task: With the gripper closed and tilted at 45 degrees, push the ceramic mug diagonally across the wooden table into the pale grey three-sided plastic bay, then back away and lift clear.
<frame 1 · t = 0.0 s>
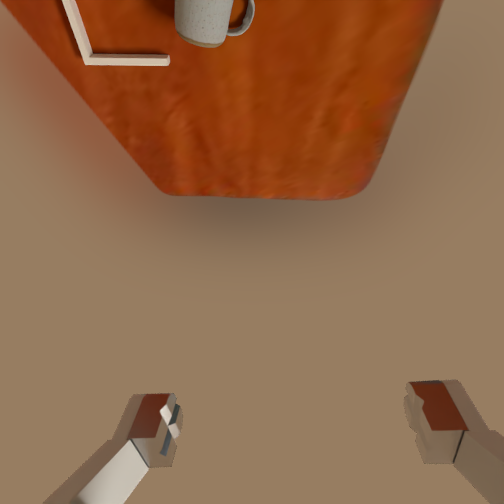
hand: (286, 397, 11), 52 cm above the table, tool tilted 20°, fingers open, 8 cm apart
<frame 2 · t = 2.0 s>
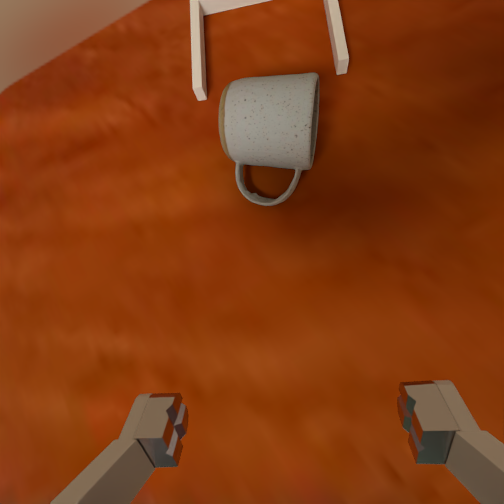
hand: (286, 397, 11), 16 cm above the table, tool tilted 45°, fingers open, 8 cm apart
ceramic mug: (276, 160, 31), on the table
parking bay: (265, 43, 34), on the table
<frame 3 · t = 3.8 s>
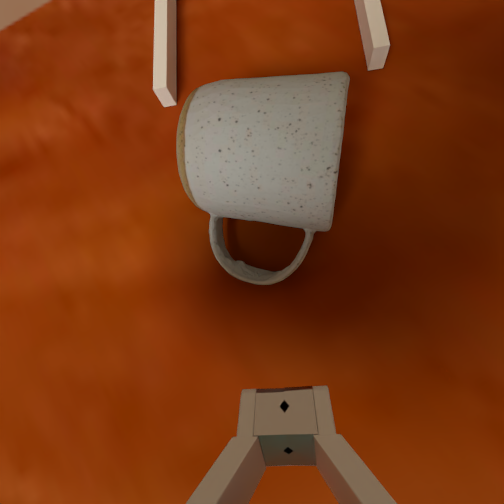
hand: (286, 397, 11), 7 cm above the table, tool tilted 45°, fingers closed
ceramic mug: (275, 205, 20), on the table
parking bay: (262, 24, 24), on the table
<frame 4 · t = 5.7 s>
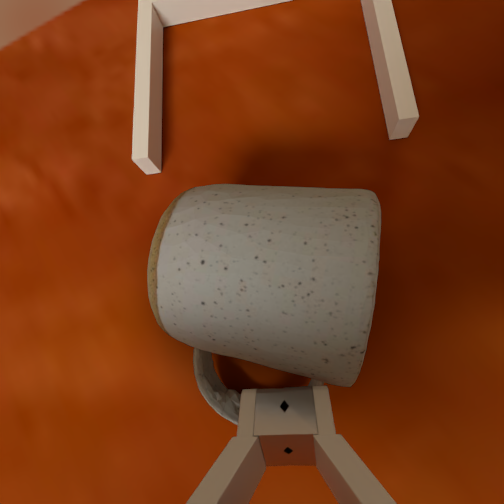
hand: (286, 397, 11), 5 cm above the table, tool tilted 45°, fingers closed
ceramic mug: (276, 311, 17), on the table, touching gripper
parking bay: (262, 76, 20), on the table
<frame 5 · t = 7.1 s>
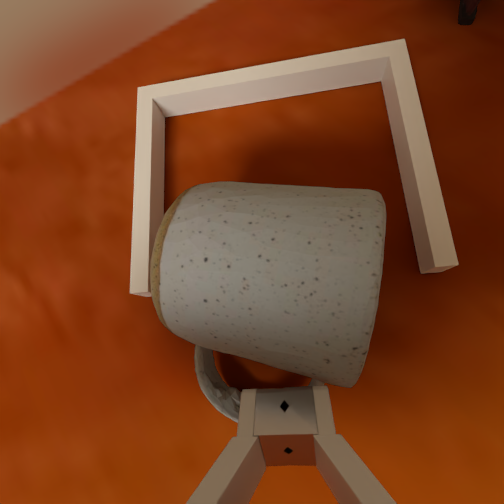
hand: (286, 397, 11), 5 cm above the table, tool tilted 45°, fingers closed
ceramic mug: (278, 310, 17), on the table, touching gripper
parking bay: (275, 184, 18), on the table
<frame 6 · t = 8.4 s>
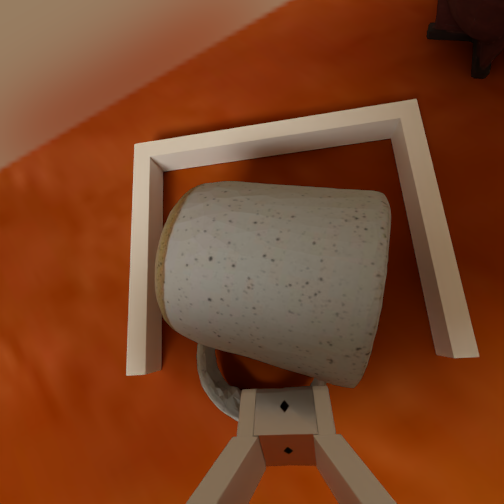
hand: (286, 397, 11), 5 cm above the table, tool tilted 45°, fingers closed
ceramic mug: (280, 310, 17), on the table, touching gripper
mate gourd: (487, 42, 19), on the table
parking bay: (280, 250, 17), on the table
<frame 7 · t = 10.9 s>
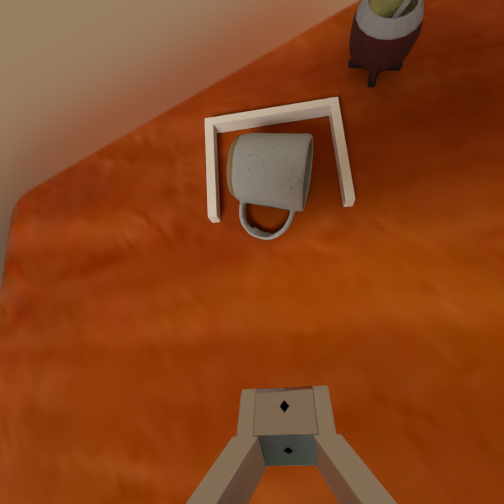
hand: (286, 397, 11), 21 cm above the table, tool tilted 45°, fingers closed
ceramic mug: (274, 198, 36), on the table
mate gourd: (377, 69, 38), on the table
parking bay: (275, 167, 36), on the table
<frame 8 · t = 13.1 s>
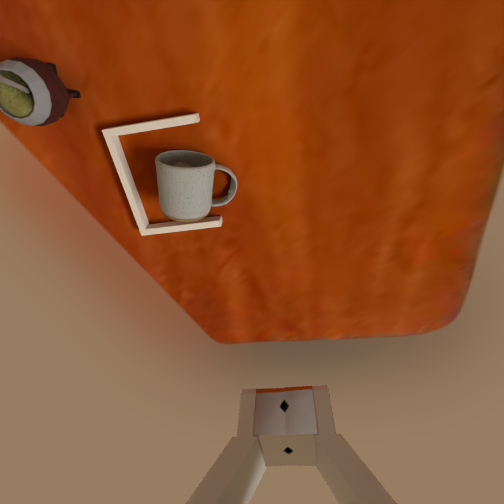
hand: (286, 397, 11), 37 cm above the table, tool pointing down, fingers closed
ceramic mug: (201, 176, 45), on the table
mate gourd: (58, 87, 40), on the table
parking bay: (172, 177, 45), on the table
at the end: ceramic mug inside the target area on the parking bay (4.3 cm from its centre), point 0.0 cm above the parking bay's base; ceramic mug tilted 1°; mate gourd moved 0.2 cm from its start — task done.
